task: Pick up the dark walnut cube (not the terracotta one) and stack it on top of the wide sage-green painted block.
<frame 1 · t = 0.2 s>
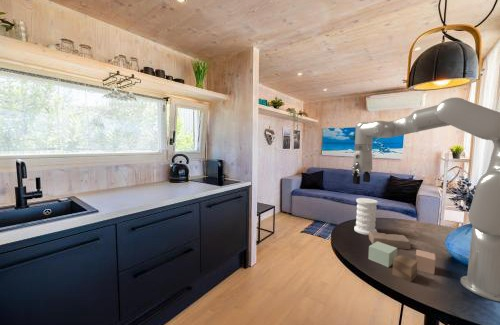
hand: (361, 182, 109), 31 cm above the table, fingers open, 9 cm apart
base block: (382, 260, 96), on the table
walnut cube: (404, 275, 85), on the table
decorative container: (365, 231, 127), on the table
brick: (388, 244, 111), on the table
terracotta cube: (424, 268, 90), on the table
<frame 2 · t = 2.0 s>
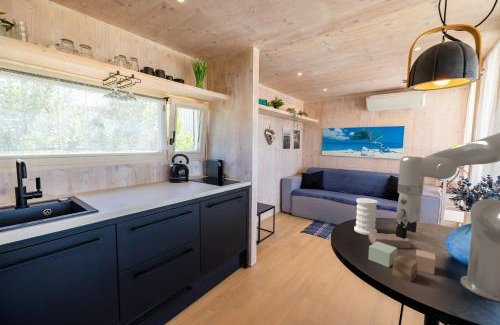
hand: (405, 234, 83), 16 cm above the table, fingers open, 9 cm apart
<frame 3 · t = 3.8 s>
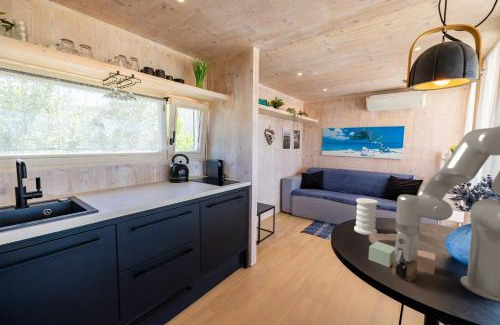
hand: (404, 273, 85), 1 cm above the table, fingers closed on walnut cube, 6 cm apart
walnut cube: (404, 275, 85), on the table, touching gripper
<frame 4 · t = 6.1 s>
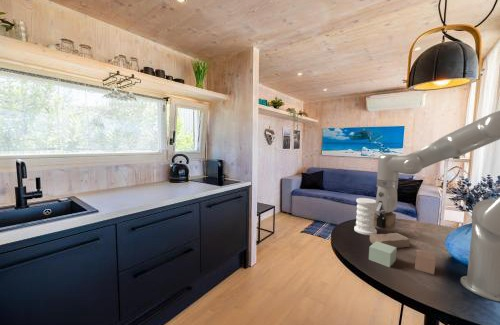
hand: (384, 225, 94), 16 cm above the table, fingers closed on walnut cube, 6 cm apart
walnut cube: (384, 227, 94), point 15 cm above the table, touching gripper
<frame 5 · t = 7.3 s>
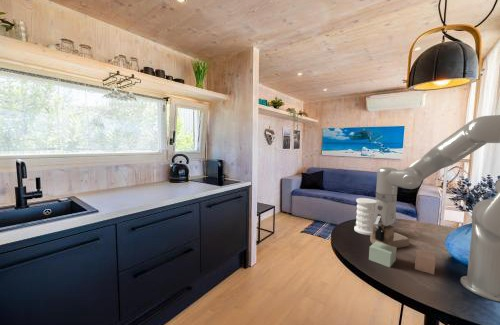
hand: (383, 237, 95), 10 cm above the table, fingers closed on walnut cube, 6 cm apart
walnut cube: (382, 239, 95), point 9 cm above the table, touching gripper
when the fingers open (8 cm above the table, at t = 8.2 s): walnut cube drops 1 cm, point 6 cm above the table.
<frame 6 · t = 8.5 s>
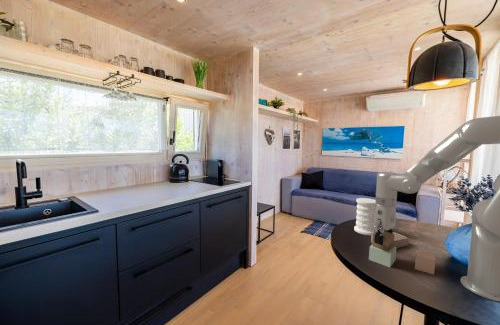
hand: (383, 240, 95), 9 cm above the table, fingers open, 8 cm apart
walnut cube: (382, 247, 95), point 6 cm above the table
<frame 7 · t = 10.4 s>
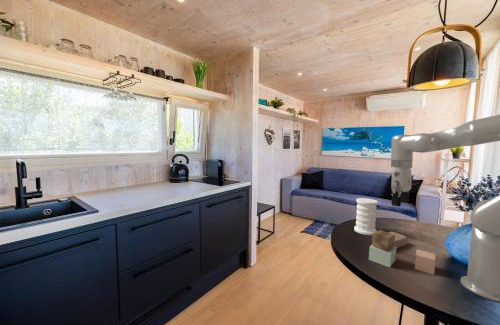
hand: (400, 203, 95), 24 cm above the table, fingers open, 9 cm apart
base block: (382, 260, 96), on the table, touching walnut cube
walnut cube: (383, 247, 95), point 6 cm above the table, touching base block
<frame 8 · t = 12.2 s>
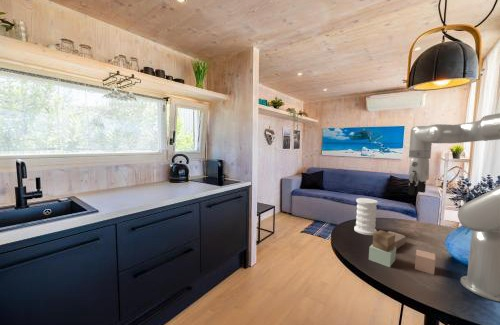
hand: (416, 193, 98), 28 cm above the table, fingers open, 9 cm apart
base block: (381, 260, 96), on the table
walnut cube: (383, 247, 95), point 6 cm above the table
at the end: walnut cube 0.4 cm off-centre on the base block, point 6.0 cm above the base block's base; walnut cube tilted 0°; the gripper is holding nothing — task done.
